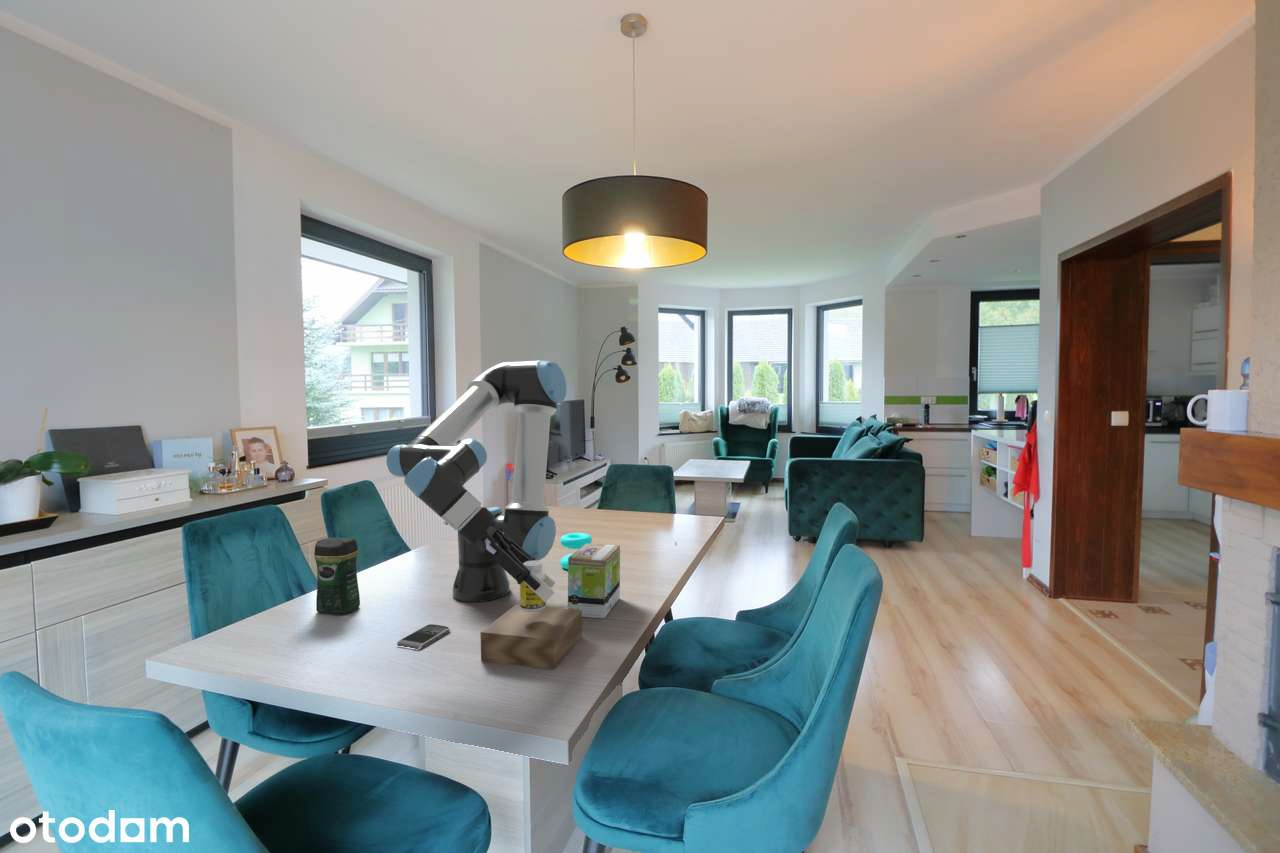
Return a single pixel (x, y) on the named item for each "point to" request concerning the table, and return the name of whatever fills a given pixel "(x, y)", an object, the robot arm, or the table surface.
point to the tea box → (594, 579)
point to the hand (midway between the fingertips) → (550, 591)
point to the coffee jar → (336, 576)
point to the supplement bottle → (527, 596)
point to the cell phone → (423, 636)
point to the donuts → (573, 544)
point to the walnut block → (531, 637)
